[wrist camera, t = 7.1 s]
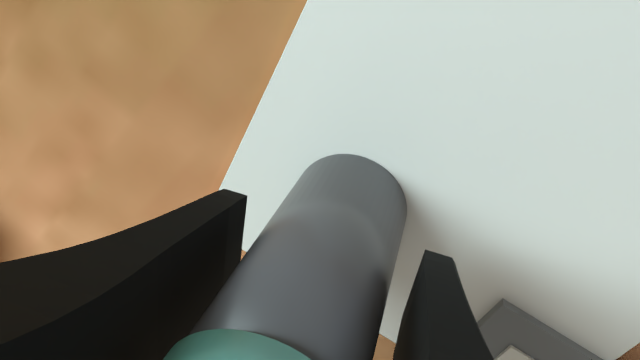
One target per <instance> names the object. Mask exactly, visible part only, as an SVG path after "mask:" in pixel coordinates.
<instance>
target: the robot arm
mask: <svg viewBox="0 0 640 360" xmlns="http://www.w3.org/2000/svg"><path fill="white" fill-rule="evenodd" d="M246 205H247V195H244V194H241V193H237V192H234V191H231V190H227V189H222V190H219V191H217V192H214V193H212V194H210V195H207V196H205V197H203V198H200V199H198V200H196V201H194V202H192V203H189V204H187V205H185V206H183V207H180V208H178V209H176V210H173V211H171V212H169V213H166V214H164V215H162V216H159V217H157V218H155V219H152V220H149V221H147V222H144V223H141V224H139V225H136V226H134V227H131V228H128V229H126V230H123V231H120V232H118V233H115V234H112V235H109V236H106V237H103V238H100V239H97V240H94V241H90V242H87V243H83V244H80V245H76V246H73V247H69V248H65V249H62V250H58V251H53V252H49V253H44V254H39V255H35V256H30V257H26V258H21V259H17V260H12V261H7V262H1V263H0V360H163V359H164V358H165V356H166V355H167V353H168V352H169V351H170V349H171V348H172V347H173V346H174V345H175V344H176V343H177V342H178V341H180V340H181V339H183V338H185V337H186V336H188V335H189V333H190V332H191V330H192V329H193V328H194V326H195V325H196V323H197V322H198V321H199V319H200V318H201V316H202V315H203V313H204V312H205V311H206V309H207V308H208V306H209V305H210V304H211V302H212V301H213V299H214V298H215V297H216V295H217V294H218V292H219V291H220V289H221V288H222V287H223V285H224V284H225V282H226V281H227V280H228V278H229V277H230V275H231V274H232V273H233V271H234V270H235V268H236V267H237V265H238V264H239V263H240V260H241V251H242V241H243V232H244V223H245V214H246ZM393 360H494V358H493V356H492V354H491V352H490V350H489V348H488V346H487V344H486V342H485V340H484V338H483V336H482V334H481V331H480V329H479V327H478V324H477V322H476V320H475V317H474V315H473V313H472V310H471V308H470V305H469V303H468V300H467V297H466V295H465V292H464V289H463V286H462V283H461V281H460V277H459V274H458V271H457V268H456V264H455V262H454V260H453V258H452V257H449V256H445V255H442V254H439V253H435V252H432V251H429V250H425V251H424V254H423V257H422V260H421V263H420V266H419V268H418V271H417V274H416V277H415V280H414V283H413V286H412V289H411V292H410V295H409V298H408V300H407V303H406V306H405V309H404V312H403V315H402V319H401V324H400V328H399V332H398V337H397V341H396V346H395V350H394V355H393Z"/></svg>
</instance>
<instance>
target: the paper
mask: <svg viewBox="0 0 640 360" xmlns="http://www.w3.org/2000/svg"><path fill="white" fill-rule="evenodd" d="M334 154H353V155H359V156H362V157H366V158H368V159H370V160H373V161H375V162H376V163H378V164H380V165H381V166H383V167H384V168H385V169H387V170H388V171H389V172H390V173H391V174H392V175H393V176H394V178H395V179H396V180H397V182H398V183H399V185H400V186H401V188H402V190H403V193H404V196H405V199H406V204H407V217H406V222H405V226H404V230H403V235H402V239H401V243H400V247H399V251H398V255H397V260H396V264H395V268H394V272H393V276H392V281H391V285H390V289H389V293H388V297H387V301H386V306H385V310H384V314H383V318H382V322H381V327H380V331H379V333H380V334H381V335H383V336H385V337H386V338H388V339H390V340H391V341H393V342H394V343H396V341H397V337H398V332H399V328H400V324H401V319H402V315H403V312H404V309H405V306H406V303H407V300H408V298H409V295H410V292H411V289H412V286H413V283H414V280H415V277H416V274H417V271H418V268H419V266H420V263H421V260H422V257H423V254H424V251H425V250H429V251H432V252H435V253H439V254H442V255H445V256H449V257H452V258H453V260H454V262H455V264H456V268H457V271H458V274H459V277H460V281H461V283H462V286H463V289H464V292H465V295H466V297H467V300H468V303H469V305H470V308H471V310H472V313H473V315H474V317H475V320H476V322H478V321H479V320H480V319H481V318H482V317H483V316H484V315H485V314H486V313H487V312H489V311H490V310H491V309H492V308H493V307H494V306H495V305H496V304H497V303H498V302H499V301H500V300H501V299H502V298H503V299H505V300H506V301H508V302H510V303H511V304H513V305H515V306H516V307H518V308H520V309H521V310H523V311H524V312H526V313H528V314H529V315H531V316H533V317H534V318H536V319H538V320H539V321H541V322H542V323H544V324H546V325H547V326H549V327H551V328H552V329H554V330H556V331H557V332H559V333H560V334H562V335H564V336H565V337H567V338H569V339H570V340H572V341H574V342H575V343H577V344H578V345H580V346H582V347H583V348H585V349H587V350H588V351H590V352H592V353H593V354H595V355H597V356H598V357H600V358H601V359H603V360H616V359H617V358H619V357H620V356H622V355H623V354H624V353H626V352H627V351H628V350H630V349H631V348H633V347H634V346H635V345H637V344H638V343H640V0H307V3H306V5H305V7H304V9H303V11H302V13H301V15H300V18H299V20H298V22H297V24H296V26H295V28H294V30H293V33H292V35H291V37H290V39H289V41H288V43H287V45H286V47H285V50H284V52H283V54H282V56H281V58H280V60H279V62H278V65H277V67H276V69H275V71H274V73H273V75H272V77H271V80H270V82H269V84H268V86H267V88H266V90H265V92H264V94H263V97H262V99H261V101H260V103H259V105H258V107H257V109H256V112H255V114H254V116H253V118H252V120H251V122H250V124H249V127H248V129H247V131H246V133H245V135H244V137H243V139H242V141H241V144H240V146H239V148H238V150H237V152H236V154H235V156H234V159H233V161H232V163H231V165H230V167H229V169H228V171H227V174H226V176H225V178H224V180H223V182H222V184H221V186H220V188H219V190H222V189H227V190H231V191H234V192H237V193H241V194H244V195H247V205H246V214H245V223H244V232H243V241H242V250H244V251H246V252H247V251H248V250H249V249H250V247H251V246H252V244H253V243H254V241H255V240H256V239H257V237H258V236H259V234H260V233H261V232H262V230H263V229H264V227H265V226H266V225H267V223H268V222H269V220H270V219H271V217H272V216H273V215H274V213H275V212H276V210H277V209H278V208H279V206H280V205H281V203H282V202H283V201H284V199H285V198H286V196H287V195H288V193H289V192H290V191H291V189H292V188H293V186H294V185H295V184H296V182H297V181H298V179H299V178H300V177H301V175H302V174H303V172H304V171H305V170H306V169H307V168H308V167H309V166H310V165H311V164H313V163H314V162H315V161H317V160H319V159H321V158H324V157H326V156H330V155H334Z"/></svg>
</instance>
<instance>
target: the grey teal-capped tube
mask: <svg viewBox="0 0 640 360" xmlns="http://www.w3.org/2000/svg"><path fill="white" fill-rule="evenodd" d="M406 217H407V204H406V199H405V196H404V193H403V190H402V188H401V186H400V185H399V183H398V182H397V180H396V179H395V178H394V176H393V175H392V174H391V173H390V172H389V171H388V170H387V169H385V168H384V167H383V166H381V165H380V164H378V163H376V162H375V161H373V160H370V159H368V158H366V157H362V156H359V155H353V154H334V155H330V156H326V157H324V158H321V159H319V160H317V161H315V162H314V163H313V164H311V165H310V166H309V167H308V168H307V169H306V170H305V171H304V172H303V174H302V175H301V177H300V178H299V179H298V181H297V182H296V184H295V185H294V186H293V188H292V189H291V191H290V192H289V193H288V195H287V196H286V198H285V199H284V201H283V202H282V203H281V205H280V206H279V208H278V209H277V210H276V212H275V213H274V215H273V216H272V217H271V219H270V220H269V222H268V223H267V225H266V226H265V227H264V229H263V230H262V232H261V233H260V234H259V236H258V237H257V239H256V240H255V241H254V243H253V244H252V246H251V247H250V249H249V250H248V251H247V253H246V254H245V256H244V257H243V258H242V260H241V261H240V263H239V264H238V265H237V267H236V268H235V270H234V271H233V273H232V274H231V275H230V277H229V278H228V280H227V281H226V282H225V284H224V285H223V287H222V288H221V289H220V291H219V292H218V294H217V295H216V297H215V298H214V299H213V301H212V302H211V304H210V305H209V306H208V308H207V309H206V311H205V312H204V313H203V315H202V316H201V318H200V319H199V321H198V322H197V323H196V325H195V326H194V328H193V329H192V330H191V332H190V333H189V335H188V336H186V337H185V338H183V339H181V340H180V341H178V342H177V343H176V344H175V345H174V346H173V347H172V348H171V349H170V351H169V352H168V353H167V355H166V356H165V358H164V359H163V360H373V356H374V352H375V348H376V343H377V339H378V335H379V331H380V327H381V322H382V318H383V314H384V310H385V306H386V301H387V297H388V293H389V289H390V285H391V281H392V276H393V272H394V268H395V264H396V260H397V255H398V251H399V247H400V243H401V239H402V235H403V230H404V226H405V222H406Z"/></svg>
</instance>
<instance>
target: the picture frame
mask: <svg viewBox="0 0 640 360" xmlns="http://www.w3.org/2000/svg"><path fill="white" fill-rule="evenodd" d="M477 324H478V327H479V329H480V331H481V334H482V336H483V338H484V340H485V342H486V344H487V346H488V348H489V350H490V352H491V354H492V356H493V358H494V360H603V359H601V358H600V357H598V356H597V355H595V354H593V353H592V352H590V351H588V350H587V349H585V348H583V347H582V346H580V345H578V344H577V343H575V342H574V341H572V340H570V339H569V338H567V337H565V336H564V335H562V334H560V333H559V332H557V331H556V330H554V329H552V328H551V327H549V326H547V325H546V324H544V323H542V322H541V321H539V320H538V319H536V318H534V317H533V316H531V315H529V314H528V313H526V312H524V311H523V310H521V309H520V308H518V307H516V306H515V305H513V304H511V303H510V302H508V301H506V300H505V299H503V298H502V299H501V300H500V301H499V302H498V303H497V304H496V305H495V306H494V307H493V308H492V309H491V310H490V311H489V312H487V313H486V314H485V315H484V316H483V317H482V318H481V319H480V320H479V321H478V322H477Z"/></svg>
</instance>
